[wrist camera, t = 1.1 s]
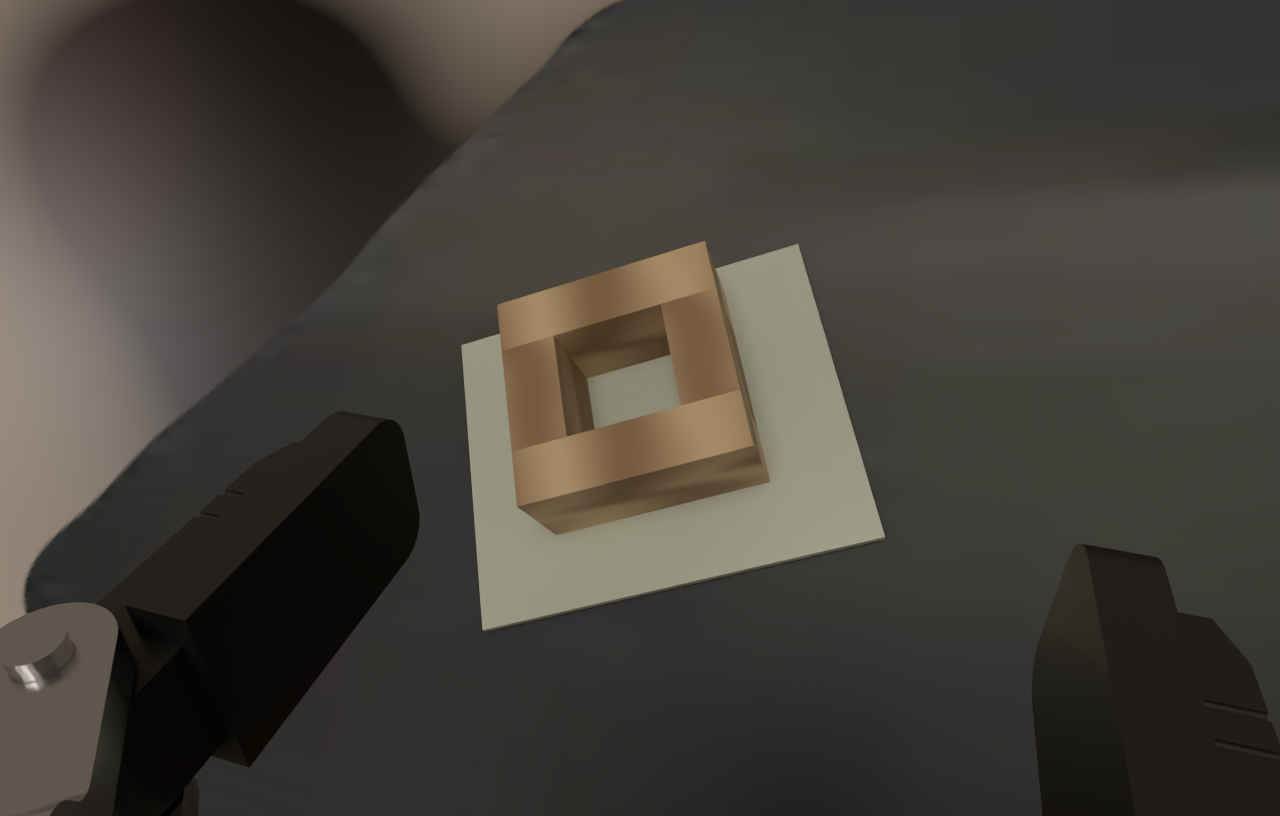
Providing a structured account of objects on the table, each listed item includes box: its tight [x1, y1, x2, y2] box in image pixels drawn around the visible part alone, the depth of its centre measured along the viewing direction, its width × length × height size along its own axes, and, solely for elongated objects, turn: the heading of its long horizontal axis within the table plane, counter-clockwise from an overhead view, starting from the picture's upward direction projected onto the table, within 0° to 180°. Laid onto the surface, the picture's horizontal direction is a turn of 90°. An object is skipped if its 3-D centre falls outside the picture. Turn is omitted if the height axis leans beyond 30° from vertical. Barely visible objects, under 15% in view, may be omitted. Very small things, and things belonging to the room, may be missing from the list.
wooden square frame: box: [497, 241, 770, 535], centre depth 38 cm, size 10×10×4 cm
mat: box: [462, 244, 885, 632], centre depth 40 cm, size 18×15×1 cm
